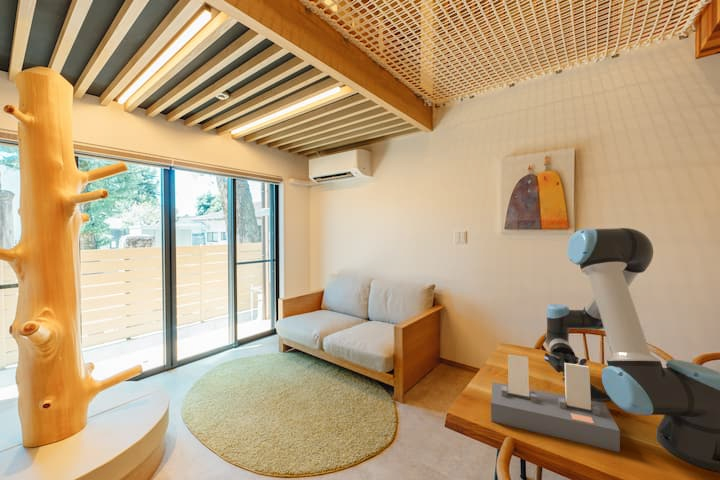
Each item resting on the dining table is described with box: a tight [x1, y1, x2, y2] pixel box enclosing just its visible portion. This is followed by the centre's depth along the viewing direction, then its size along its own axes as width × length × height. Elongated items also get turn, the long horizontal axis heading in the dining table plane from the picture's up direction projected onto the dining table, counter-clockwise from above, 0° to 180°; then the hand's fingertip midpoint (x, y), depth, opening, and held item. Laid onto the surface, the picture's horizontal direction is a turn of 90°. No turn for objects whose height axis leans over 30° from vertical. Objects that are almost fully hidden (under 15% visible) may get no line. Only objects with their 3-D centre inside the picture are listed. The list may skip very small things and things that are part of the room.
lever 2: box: [564, 363, 591, 410], centre depth 91 cm, size 2×6×12 cm, turn 64°
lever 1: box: [507, 353, 530, 397], centre depth 99 cm, size 2×6×12 cm, turn 65°
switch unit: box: [490, 381, 621, 453], centre depth 94 cm, size 14×32×8 cm, turn 64°
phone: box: [562, 377, 613, 402], centre depth 111 cm, size 8×1×15 cm
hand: (574, 380), depth 93 cm, fingers closed
